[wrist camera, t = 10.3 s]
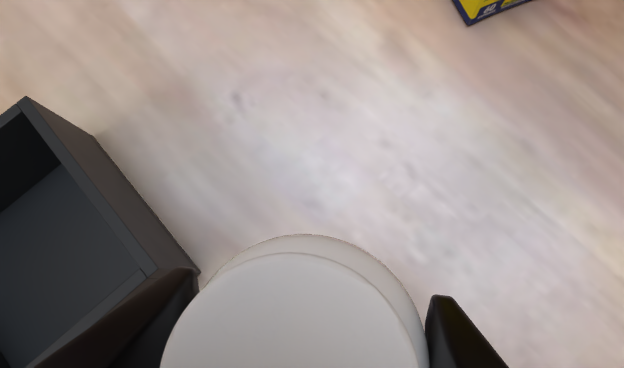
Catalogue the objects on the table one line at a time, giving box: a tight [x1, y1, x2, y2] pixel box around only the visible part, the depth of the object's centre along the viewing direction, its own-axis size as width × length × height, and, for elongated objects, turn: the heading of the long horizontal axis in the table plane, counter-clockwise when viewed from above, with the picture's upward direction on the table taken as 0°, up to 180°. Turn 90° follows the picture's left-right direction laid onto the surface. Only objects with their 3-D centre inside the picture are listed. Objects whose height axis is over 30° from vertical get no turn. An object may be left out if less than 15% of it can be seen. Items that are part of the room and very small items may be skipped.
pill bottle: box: [160, 234, 430, 368], centre depth 11 cm, size 5×5×10 cm
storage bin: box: [0, 96, 201, 368], centre depth 21 cm, size 11×11×6 cm
